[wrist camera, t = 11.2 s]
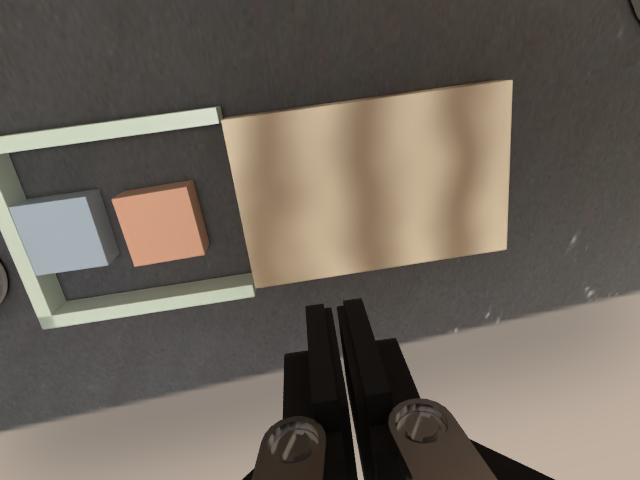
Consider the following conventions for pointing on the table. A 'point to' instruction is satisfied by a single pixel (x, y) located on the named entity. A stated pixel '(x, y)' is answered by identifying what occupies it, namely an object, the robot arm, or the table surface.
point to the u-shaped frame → (55, 311)
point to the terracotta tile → (162, 222)
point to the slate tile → (65, 231)
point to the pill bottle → (3, 283)
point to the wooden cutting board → (373, 181)
